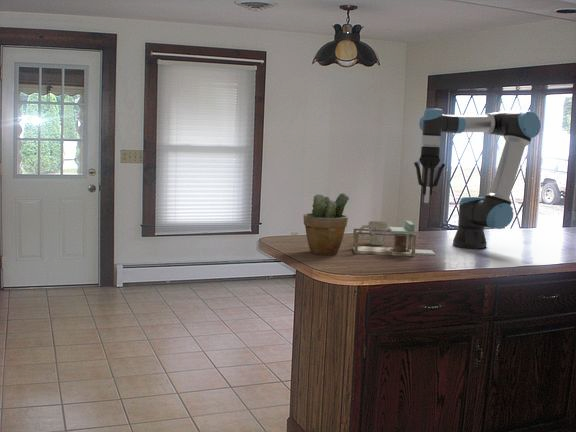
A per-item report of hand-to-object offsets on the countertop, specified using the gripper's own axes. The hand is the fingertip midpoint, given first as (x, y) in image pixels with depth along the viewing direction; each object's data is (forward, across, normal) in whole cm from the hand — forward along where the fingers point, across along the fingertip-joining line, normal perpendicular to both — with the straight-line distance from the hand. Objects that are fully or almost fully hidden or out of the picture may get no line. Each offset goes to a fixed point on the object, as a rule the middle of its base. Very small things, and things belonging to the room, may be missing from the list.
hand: (426, 202), depth 290 cm
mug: (+22, +19, -22) cm, 37 cm away
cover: (+13, +10, 0) cm, 16 cm away
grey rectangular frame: (+22, +17, 0) cm, 28 cm away
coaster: (+22, -1, -4) cm, 22 cm away
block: (+22, +10, 0) cm, 24 cm away
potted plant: (+23, +42, +8) cm, 48 cm away
